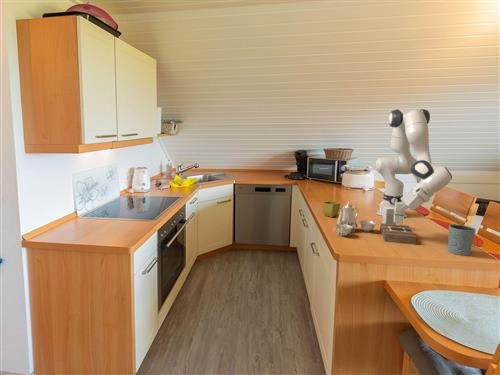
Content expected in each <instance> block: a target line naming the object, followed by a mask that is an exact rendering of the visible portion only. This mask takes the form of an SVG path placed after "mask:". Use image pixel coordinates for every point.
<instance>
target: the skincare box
mask: <svg viewBox="0 0 500 375" xmlns="http://www.w3.org/2000/svg"><path fill="white" fill-rule="evenodd" d="M394 209H395V208H394V207H384V209H383V216H382V222H381V223H384V224H395V225H397V223H394V221H393V220H394Z"/></svg>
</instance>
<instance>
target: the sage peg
mask: <svg viewBox="0 0 500 375" xmlns="http://www.w3.org/2000/svg"><path fill="white" fill-rule="evenodd" d="M403 205H405V204H404V203H398V202H395V209H394V220H393V221H394V223H396V224H404V218H405V217H404V211H402V212H399V211H398V209H399V208H401V207H402V206H403Z"/></svg>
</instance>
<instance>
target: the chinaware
mask: <svg viewBox="0 0 500 375" xmlns="http://www.w3.org/2000/svg"><path fill="white" fill-rule="evenodd" d="M355 210H356V214H355V216H354V211H355ZM338 214H339V215H338V218H337V222H336V226H335V227H334V228H333V230H332V231H333V233H334V234H337V235H338V236H341V237H343V236H346V237H347V236H348V235H349V234H350V232H352V233H355V232H356V229H357V228H358V223H357V222H356V221H357V217H358V215H359V209H358V207H355V206H353V204H351V203H350V201H348V202H347V203H346V204H345V205H342V207H340V208H339V213H338ZM359 223H360V226H361V228H362V230H363V231H364V233H371V232H372V230H374V228H375V226H376V225H377V223H376V222H375V221H374V220H373V221H372V220H369V221H368V220H362V221H359ZM335 230H337V232H335Z"/></svg>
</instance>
